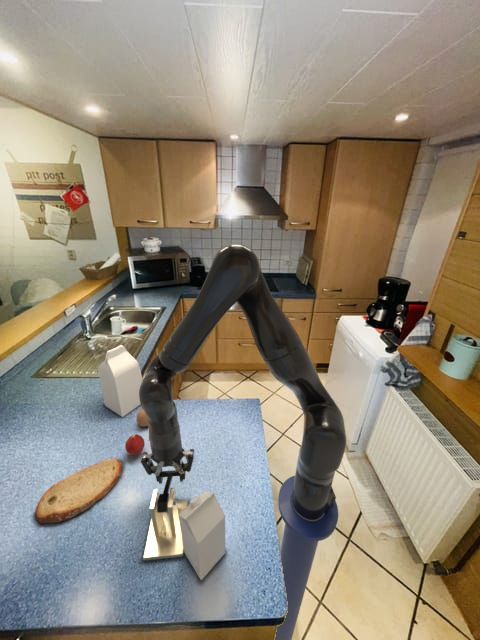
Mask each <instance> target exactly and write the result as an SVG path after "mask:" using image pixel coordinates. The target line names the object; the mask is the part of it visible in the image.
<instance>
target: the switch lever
mask: <svg viewBox="0 0 480 640" xmlns="http://www.w3.org/2000/svg"><path fill="white" fill-rule="evenodd" d="M161 477H163V478H166V481H165V485H164V488H163V491H162V493H159V498H158V502H157V512H158V513H159V512H167V510H168V501H169V495H170V488H171V485H172V481H173V477H179V471H178V470H175V469H174V470H162V472H161Z"/></svg>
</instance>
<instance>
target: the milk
mask: <svg viewBox="0 0 480 640" xmlns="http://www.w3.org/2000/svg"><path fill="white" fill-rule="evenodd" d="M97 370H98V376H99V381H100V387H101V393H102V397H103V404H104V406H105V407H106V408H108V409H110V411H112V412H114V413H115V414H116V415H118V416H120V417H122V418H124V417H125V416H127V415H128V414H129V413H130V412H132V411H133V410H135V409H136V408H137V407H139V406H141V404H140V399H139V389H140V386H141V382H142V379H143V375H142V372H141V367H140V364H139V362H138V361H137V360H136V358H135V357H134V356H132V354H131V353H130V352H129V351H128V350H127V348H126V347H125V346H124V345H122V344H119V345H117V346H115V347H113V348H111V349H109V350H107V351H106V354H105V359H104V360H102V362H101V363H100V364H99V365H98V367H97Z"/></svg>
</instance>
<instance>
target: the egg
mask: <svg viewBox="0 0 480 640" xmlns="http://www.w3.org/2000/svg"><path fill="white" fill-rule="evenodd" d="M136 423H137V424H138V425H139V426H141V427H148V422H147V415H146V414H145V412H144V410H143V408H141V409H139V411H137V414H136Z"/></svg>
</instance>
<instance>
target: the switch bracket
mask: <svg viewBox="0 0 480 640" xmlns="http://www.w3.org/2000/svg"><path fill="white" fill-rule="evenodd" d="M176 494H177V493H176V488H175V487H170V489H169V501H168V510H167V512H159V513H158V512H157V502H158V498H159V495H160V493H159V489H158V488H155V489H153V490H152V496H151V499H150V501H149V513H150V514H149V515H150V522H149V527H148V530H147V531H148V532H147V536H146V542H145V546H144V551H143V557H142V560H143V561H144V562H145V561H155V560H165V559H173V558H182V557H184V550H183V543H182V535H181V528H180V520H179V514H180V513H182V512H183V511H184V510H185V509H186V508H187V507H188V506H189V502H188V501H189V500H188V499H181V500H177V496H176Z"/></svg>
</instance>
